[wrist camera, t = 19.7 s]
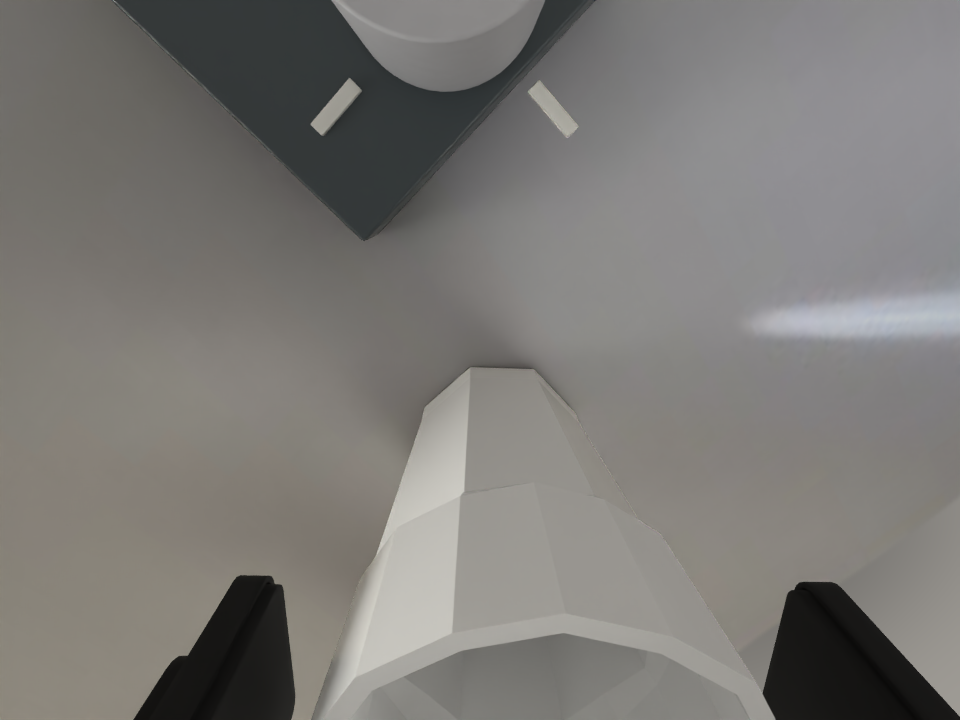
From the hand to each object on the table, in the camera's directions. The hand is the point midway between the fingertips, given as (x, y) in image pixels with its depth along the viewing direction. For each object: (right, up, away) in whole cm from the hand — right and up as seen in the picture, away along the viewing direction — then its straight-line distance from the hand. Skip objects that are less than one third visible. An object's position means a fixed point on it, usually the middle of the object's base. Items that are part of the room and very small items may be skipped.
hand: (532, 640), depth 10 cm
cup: (0, +3, +8) cm, 8 cm away
